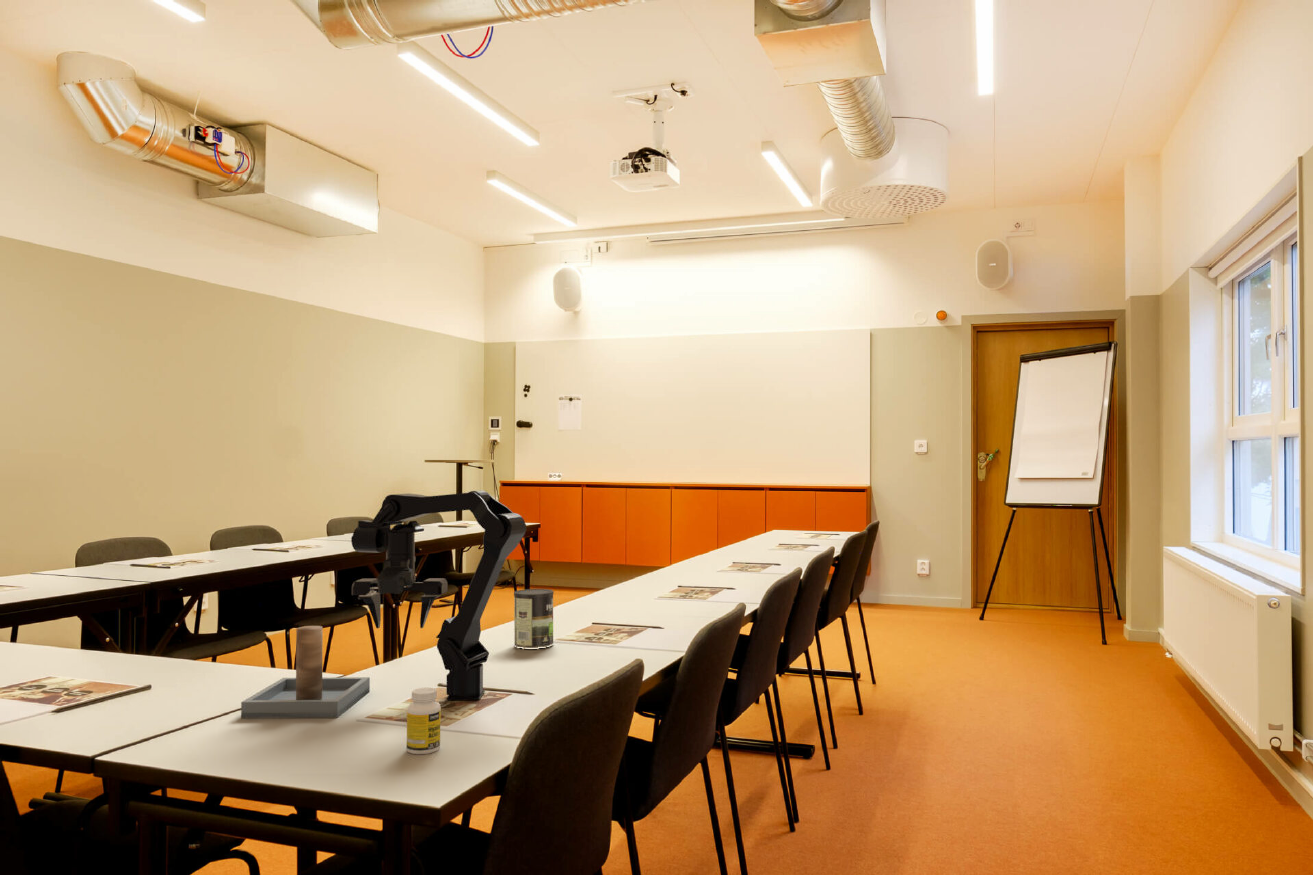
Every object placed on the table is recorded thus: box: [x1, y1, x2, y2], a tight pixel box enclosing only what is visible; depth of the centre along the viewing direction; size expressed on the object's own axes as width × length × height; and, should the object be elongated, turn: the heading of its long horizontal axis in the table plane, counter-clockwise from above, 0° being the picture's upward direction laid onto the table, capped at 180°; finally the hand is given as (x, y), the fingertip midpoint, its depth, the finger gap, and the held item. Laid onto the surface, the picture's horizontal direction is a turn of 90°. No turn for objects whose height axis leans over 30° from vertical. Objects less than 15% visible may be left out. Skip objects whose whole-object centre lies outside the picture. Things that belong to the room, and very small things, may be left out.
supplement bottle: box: [406, 687, 442, 755], centre depth 141 cm, size 5×5×10 cm
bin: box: [240, 676, 371, 719], centre depth 168 cm, size 18×18×3 cm
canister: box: [295, 625, 324, 700], centre depth 168 cm, size 5×5×14 cm
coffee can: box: [513, 588, 555, 648], centre depth 221 cm, size 10×10×14 cm
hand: (400, 627), depth 178 cm, fingers open, 9 cm apart
